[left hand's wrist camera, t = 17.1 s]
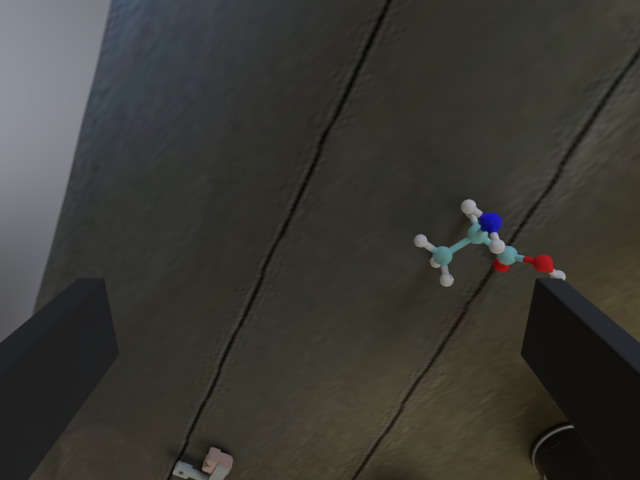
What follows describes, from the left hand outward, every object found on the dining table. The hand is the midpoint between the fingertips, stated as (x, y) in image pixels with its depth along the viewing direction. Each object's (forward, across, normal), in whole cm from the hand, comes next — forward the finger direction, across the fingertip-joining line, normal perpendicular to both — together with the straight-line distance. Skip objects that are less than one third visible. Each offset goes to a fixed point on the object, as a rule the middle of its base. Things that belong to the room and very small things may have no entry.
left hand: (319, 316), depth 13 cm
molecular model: (+29, +15, -8) cm, 34 cm away
